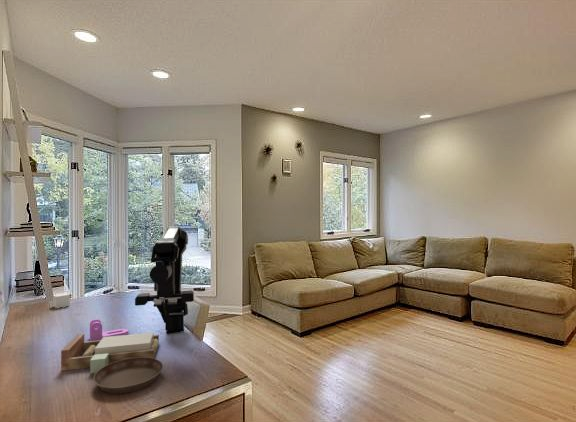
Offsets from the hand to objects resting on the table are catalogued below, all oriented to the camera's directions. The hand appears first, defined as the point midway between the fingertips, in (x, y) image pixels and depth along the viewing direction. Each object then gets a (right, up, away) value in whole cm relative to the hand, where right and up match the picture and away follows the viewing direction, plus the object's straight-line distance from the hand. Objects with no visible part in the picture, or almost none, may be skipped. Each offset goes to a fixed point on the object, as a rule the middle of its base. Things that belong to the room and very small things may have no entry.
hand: (165, 322), depth 115 cm
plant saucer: (-3, -10, -21) cm, 23 cm away
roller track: (-14, -10, -4) cm, 18 cm away
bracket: (-27, -10, +14) cm, 31 cm away
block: (-15, -10, -14) cm, 23 cm away
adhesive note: (-74, -11, +56) cm, 94 cm away
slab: (-12, -7, -3) cm, 14 cm away
